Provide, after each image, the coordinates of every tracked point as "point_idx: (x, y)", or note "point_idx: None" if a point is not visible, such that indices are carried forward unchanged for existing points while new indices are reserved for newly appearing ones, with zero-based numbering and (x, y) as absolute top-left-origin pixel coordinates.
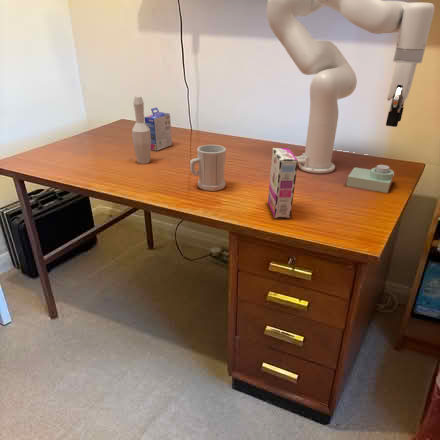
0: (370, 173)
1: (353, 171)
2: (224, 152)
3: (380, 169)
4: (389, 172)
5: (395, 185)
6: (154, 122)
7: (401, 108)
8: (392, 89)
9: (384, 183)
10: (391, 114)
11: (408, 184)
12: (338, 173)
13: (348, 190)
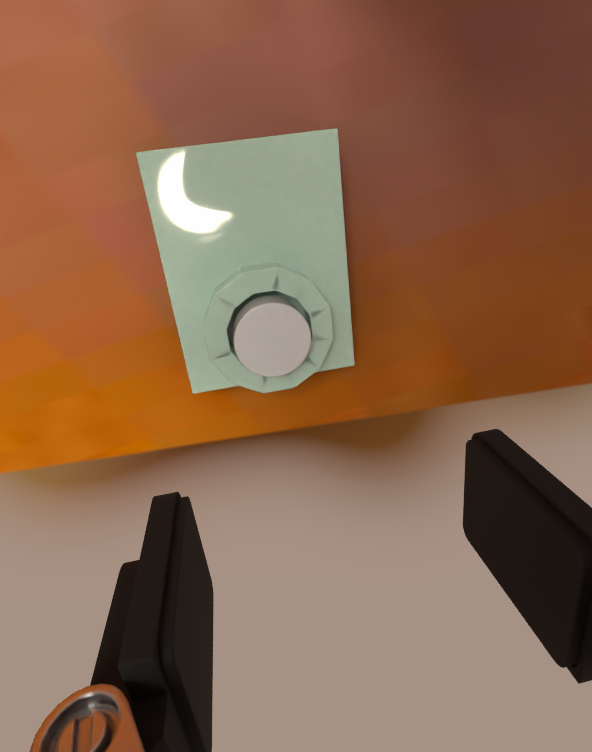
0: (235, 274)
1: (250, 152)
2: None
3: (233, 337)
4: None
5: None
6: None
7: (559, 655)
8: None
9: (187, 368)
10: (98, 680)
11: (361, 410)
12: (328, 24)
13: (87, 195)
